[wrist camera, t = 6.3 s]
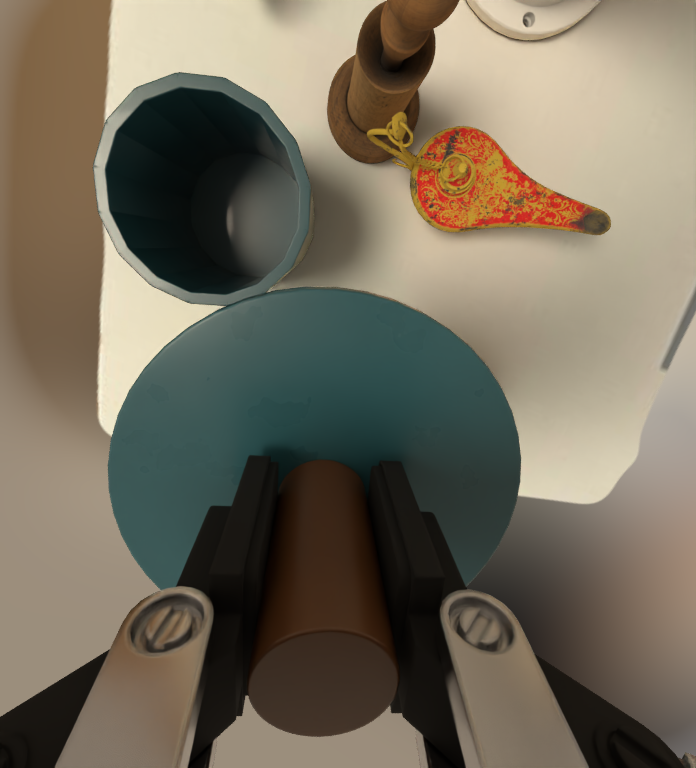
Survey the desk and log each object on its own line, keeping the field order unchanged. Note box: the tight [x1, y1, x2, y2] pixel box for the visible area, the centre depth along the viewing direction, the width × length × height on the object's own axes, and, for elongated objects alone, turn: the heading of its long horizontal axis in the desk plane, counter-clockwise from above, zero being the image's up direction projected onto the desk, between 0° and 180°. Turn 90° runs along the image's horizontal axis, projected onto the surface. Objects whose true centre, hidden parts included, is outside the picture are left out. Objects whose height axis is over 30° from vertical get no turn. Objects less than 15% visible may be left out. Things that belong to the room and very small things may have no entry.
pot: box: [93, 72, 314, 306], centre depth 26 cm, size 10×10×14 cm
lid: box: [108, 287, 521, 737], centre depth 9 cm, size 11×11×6 cm
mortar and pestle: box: [327, 0, 459, 163], centre depth 22 cm, size 7×6×18 cm
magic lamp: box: [367, 112, 611, 235], centre depth 27 cm, size 7×18×11 cm, turn 72°
